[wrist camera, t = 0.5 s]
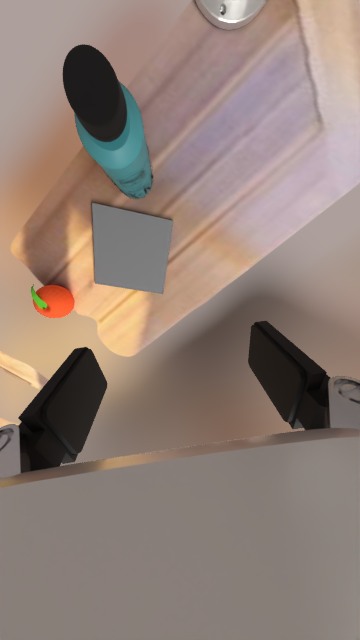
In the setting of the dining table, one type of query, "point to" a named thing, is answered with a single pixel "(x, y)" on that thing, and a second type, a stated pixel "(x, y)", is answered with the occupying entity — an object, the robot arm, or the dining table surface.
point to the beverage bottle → (108, 120)
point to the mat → (130, 248)
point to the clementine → (53, 301)
